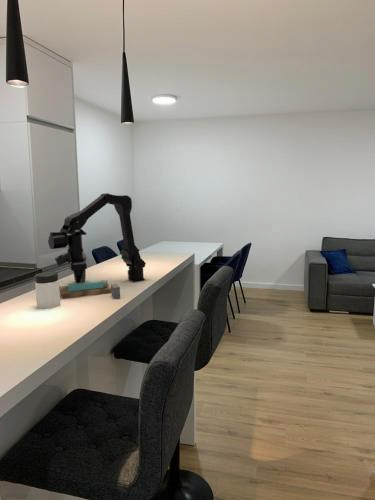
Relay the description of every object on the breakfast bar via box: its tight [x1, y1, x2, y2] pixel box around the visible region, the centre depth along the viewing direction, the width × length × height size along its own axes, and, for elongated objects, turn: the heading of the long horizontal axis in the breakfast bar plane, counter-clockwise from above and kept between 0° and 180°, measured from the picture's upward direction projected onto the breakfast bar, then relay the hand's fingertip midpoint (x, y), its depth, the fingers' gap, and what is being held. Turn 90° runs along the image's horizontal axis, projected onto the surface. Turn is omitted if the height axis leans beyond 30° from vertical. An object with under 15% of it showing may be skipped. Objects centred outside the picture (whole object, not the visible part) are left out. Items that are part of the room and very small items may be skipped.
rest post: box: [110, 283, 121, 300], centre depth 159 cm, size 2×6×4 cm, turn 21°
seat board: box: [59, 283, 111, 300], centre depth 169 cm, size 20×14×2 cm
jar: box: [34, 271, 61, 309], centre depth 150 cm, size 9×8×12 cm
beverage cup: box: [72, 251, 87, 284], centre depth 185 cm, size 7×7×20 cm
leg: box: [67, 279, 109, 292], centre depth 165 cm, size 16×3×2 cm, turn 111°
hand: (78, 282), depth 169 cm, fingers closed
